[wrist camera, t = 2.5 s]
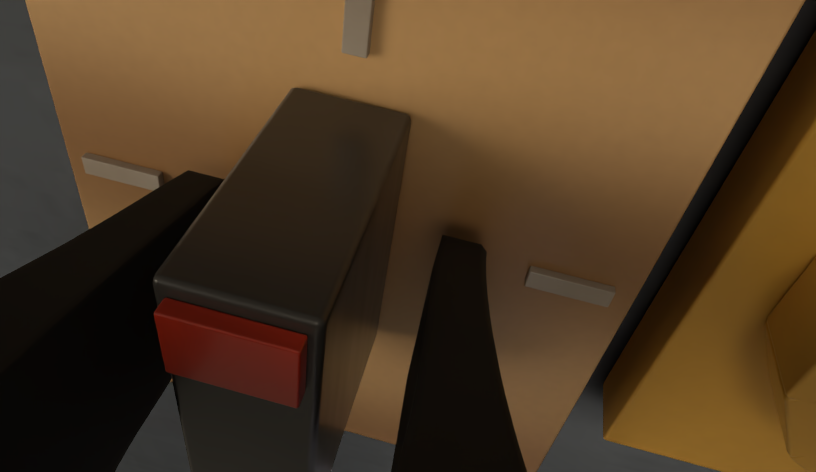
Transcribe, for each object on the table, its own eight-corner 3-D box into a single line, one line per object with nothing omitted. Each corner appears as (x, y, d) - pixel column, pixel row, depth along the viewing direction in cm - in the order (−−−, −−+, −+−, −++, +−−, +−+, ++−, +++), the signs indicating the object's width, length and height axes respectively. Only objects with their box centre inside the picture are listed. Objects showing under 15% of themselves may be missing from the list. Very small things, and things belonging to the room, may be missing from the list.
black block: (377, 332, 12) (303, 553, 9) (288, 309, 13) (187, 518, 9) (413, 113, 9) (315, 345, 6) (291, 83, 9) (133, 295, 6)
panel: (539, 378, 17) (530, 489, 15) (185, 283, 18) (124, 376, 15) (815, -198, 8) (898, -146, 6) (91, -341, 9) (-86, -343, 7)
